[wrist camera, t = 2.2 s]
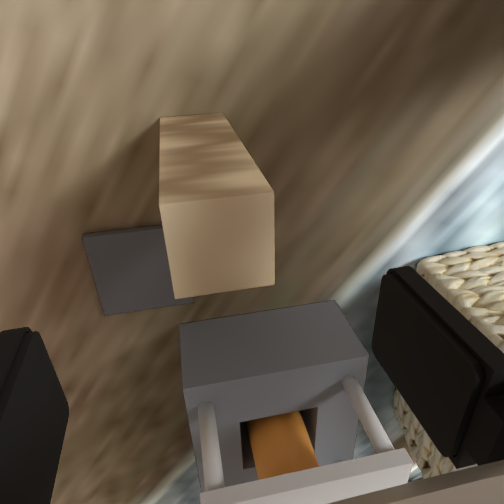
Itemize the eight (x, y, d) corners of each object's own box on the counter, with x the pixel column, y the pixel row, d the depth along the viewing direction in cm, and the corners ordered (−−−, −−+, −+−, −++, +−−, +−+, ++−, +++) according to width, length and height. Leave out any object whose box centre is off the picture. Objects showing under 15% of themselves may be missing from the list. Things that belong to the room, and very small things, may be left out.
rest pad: (182, 222, 29) (183, 225, 29) (193, 298, 33) (193, 302, 32) (83, 234, 28) (81, 238, 28) (105, 311, 32) (104, 315, 31)
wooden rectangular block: (222, 112, 26) (274, 191, 14) (226, 171, 28) (274, 284, 16) (160, 117, 25) (158, 204, 13) (169, 177, 27) (174, 299, 15)
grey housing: (178, 324, 34) (189, 498, 21) (334, 300, 36) (425, 446, 24) (207, 491, 47) (223, 657, 35) (319, 466, 49) (372, 615, 37)
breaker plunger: (243, 396, 34) (263, 490, 27) (297, 386, 35) (330, 475, 28) (245, 431, 36) (265, 525, 30) (296, 421, 37) (326, 510, 30)
